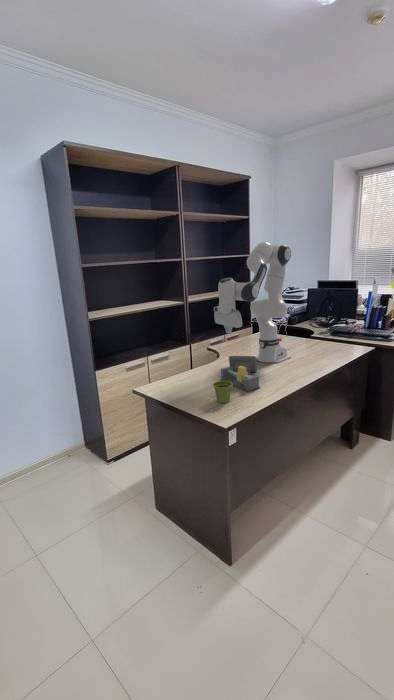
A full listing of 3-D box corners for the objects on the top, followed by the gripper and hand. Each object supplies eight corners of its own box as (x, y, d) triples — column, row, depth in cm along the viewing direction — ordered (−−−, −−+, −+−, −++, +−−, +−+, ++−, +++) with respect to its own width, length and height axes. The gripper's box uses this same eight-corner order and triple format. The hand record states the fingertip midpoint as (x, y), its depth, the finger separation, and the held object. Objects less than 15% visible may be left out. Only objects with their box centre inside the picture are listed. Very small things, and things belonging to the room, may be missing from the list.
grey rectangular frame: (219, 380, 194) (219, 369, 192) (232, 376, 199) (232, 365, 197) (247, 392, 175) (246, 380, 174) (260, 387, 180) (260, 376, 178)
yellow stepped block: (236, 380, 185) (236, 367, 183) (243, 378, 187) (242, 365, 185) (241, 382, 181) (241, 369, 180) (248, 380, 184) (247, 367, 182)
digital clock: (258, 371, 205) (258, 354, 202) (253, 376, 197) (253, 358, 194) (232, 369, 212) (231, 352, 209) (227, 373, 204) (226, 356, 201)
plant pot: (222, 406, 161) (221, 389, 158) (209, 400, 168) (208, 384, 166) (237, 401, 166) (236, 384, 164) (224, 395, 173) (223, 379, 171)
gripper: (244, 309, 182) (245, 335, 185) (220, 306, 198) (222, 329, 202) (235, 311, 178) (236, 337, 182) (211, 307, 195) (213, 331, 199)
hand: (228, 333), depth 192 cm, fingers closed
